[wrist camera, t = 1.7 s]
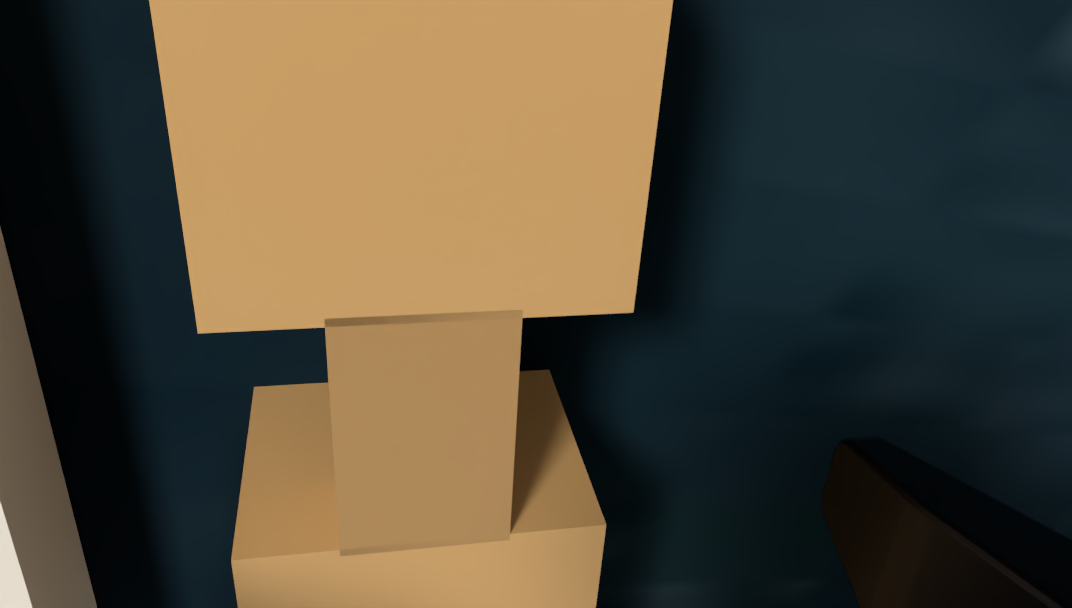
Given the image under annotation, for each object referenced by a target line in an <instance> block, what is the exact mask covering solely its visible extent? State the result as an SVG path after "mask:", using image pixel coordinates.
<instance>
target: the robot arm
mask: <svg viewBox="0 0 1072 608" xmlns="http://www.w3.org/2000/svg"><path fill="white" fill-rule="evenodd" d="M822 511H823V516H824V519H825V522H826V524H827V527H828V529H829V532H830V534H831V537H832V539H833V542H834V544H835V547H836V549H837V552H838V554H839V557H840V559H841V562H842V564H843V567H844V569H845V572H846V574H847V577H848V579H849V582H850V584H851V587H852V589H853V592H854V594H855V597H856V599H857V602H858V604H859V607H860V608H1072V540H1071V539H1069V538H1067V537H1066V536H1064V535H1062V534H1060V533H1058V532H1056V531H1054V530H1053V529H1051V528H1049V527H1047V526H1045V525H1043V524H1041V523H1039V522H1038V521H1036V520H1034V519H1032V518H1030V517H1028V516H1026V515H1024V514H1023V513H1021V512H1019V511H1017V510H1015V509H1013V508H1011V507H1009V506H1008V505H1006V504H1004V503H1002V502H1000V501H998V500H996V499H995V498H993V497H991V496H989V495H987V494H985V493H983V492H981V491H980V490H978V489H976V488H974V487H972V486H970V485H968V484H966V483H965V482H963V481H961V480H959V479H957V478H955V477H953V476H952V475H950V474H948V473H946V472H944V471H942V470H940V469H938V468H937V467H935V466H933V465H931V464H929V463H927V462H925V461H923V460H922V459H920V458H918V457H916V456H914V455H912V454H910V453H909V452H907V451H905V450H903V449H901V448H899V447H897V446H895V445H894V444H892V443H890V442H888V441H886V440H884V439H882V438H880V437H877V436H863V437H851V438H845V439H843V440H841V441H840V442H839V443H838V444H837V445H836V448H835V450H834V454H833V457H832V461H831V464H830V468H829V472H828V475H827V479H826V483H825V486H824V490H823V494H822Z"/></svg>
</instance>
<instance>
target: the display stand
mask: <svg viewBox="0 0 1072 608" xmlns="http://www.w3.org/2000/svg"><path fill="white" fill-rule="evenodd" d="M0 608H97V605H96V601H95V597H94V593H93V589H92V586H91V582H90V578H89V574H88V570H87V566H86V562H85V558H84V554H83V550H82V546H81V542H80V538H79V534H78V530H77V526H76V523H75V519H74V515H73V511H72V507H71V503H70V499H69V495H68V491H67V487H66V483H65V479H64V475H63V471H62V467H61V463H60V460H59V456H58V452H57V448H56V444H55V440H54V436H53V432H52V428H51V424H50V420H49V416H48V412H47V408H46V404H45V400H44V397H43V393H42V389H41V385H40V381H39V377H38V373H37V369H36V365H35V361H34V357H33V353H32V349H31V345H30V341H29V337H28V333H27V330H26V326H25V322H24V318H23V314H22V310H21V306H20V302H19V298H18V294H17V290H16V286H15V282H14V278H13V274H12V270H11V267H10V263H9V259H8V255H7V251H6V247H5V243H4V239H3V235H2V231H1V227H0Z"/></svg>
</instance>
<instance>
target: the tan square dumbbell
mask: <svg viewBox="0 0 1072 608" xmlns="http://www.w3.org/2000/svg"><path fill="white" fill-rule="evenodd" d="M149 2H150V9H151V16H152V23H153V29H154V36H155V43H156V50H157V57H158V64H159V71H160V77H161V84H162V91H163V98H164V105H165V112H166V118H167V125H168V132H169V139H170V146H171V153H172V159H173V166H174V173H175V180H176V187H177V194H178V200H179V207H180V214H181V221H182V228H183V235H184V241H185V248H186V255H187V262H188V269H189V276H190V283H191V289H192V296H193V303H194V310H195V317H196V324H197V330H198V333H219V332H240V331H260V330H281V329H302V328H323V327H325V335H326V351H327V366H328V381H329V383H313V384H296V385H279V386H263V387H254V392H253V400H252V407H251V415H250V422H249V430H248V437H247V445H246V452H245V460H244V467H243V475H242V482H241V490H240V498H239V505H238V513H237V520H236V528H235V535H234V543H233V550H232V558H231V563H232V570H233V577H234V583H235V590H236V597H237V604H238V608H596V603H597V595H598V587H599V579H600V571H601V564H602V556H603V548H604V540H605V532H606V522H605V520H604V517H603V514H602V511H601V509H600V506H599V503H598V501H597V498H596V495H595V493H594V490H593V487H592V484H591V482H590V479H589V476H588V474H587V471H586V468H585V465H584V463H583V460H582V457H581V455H580V452H579V449H578V447H577V444H576V441H575V438H574V436H573V433H572V430H571V428H570V425H569V422H568V419H567V417H566V414H565V411H564V409H563V406H562V403H561V401H560V398H559V395H558V392H557V390H556V387H555V384H554V382H553V379H552V376H551V373H550V371H549V370H533V371H520V353H521V336H522V319H523V318H532V317H553V316H574V315H595V314H616V313H633V312H634V304H635V296H636V288H637V280H638V273H639V265H640V257H641V249H642V241H643V233H644V225H645V218H646V210H647V202H648V194H649V186H650V178H651V170H652V163H653V155H654V147H655V139H656V131H657V123H658V115H659V108H660V100H661V92H662V84H663V76H664V68H665V60H666V53H667V45H668V37H669V29H670V21H671V13H672V5H673V0H149Z"/></svg>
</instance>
